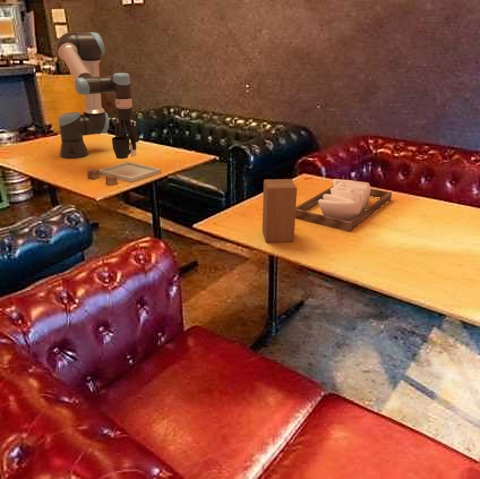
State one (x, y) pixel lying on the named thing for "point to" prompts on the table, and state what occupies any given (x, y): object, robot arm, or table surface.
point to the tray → (130, 171)
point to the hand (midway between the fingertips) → (128, 155)
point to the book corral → (338, 223)
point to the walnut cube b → (111, 179)
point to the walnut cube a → (93, 174)
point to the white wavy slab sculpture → (345, 199)
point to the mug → (121, 146)
